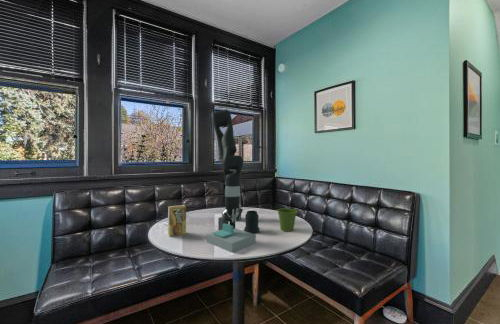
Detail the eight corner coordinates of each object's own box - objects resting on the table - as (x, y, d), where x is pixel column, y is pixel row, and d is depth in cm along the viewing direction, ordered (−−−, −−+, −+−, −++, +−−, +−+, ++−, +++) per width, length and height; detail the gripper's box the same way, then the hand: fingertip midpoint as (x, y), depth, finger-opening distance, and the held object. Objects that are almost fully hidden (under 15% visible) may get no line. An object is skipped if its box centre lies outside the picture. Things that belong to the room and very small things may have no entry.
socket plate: (230, 234, 123) (230, 226, 123) (255, 242, 111) (255, 234, 111) (206, 242, 112) (206, 234, 111) (231, 252, 99) (231, 243, 99)
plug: (223, 230, 130) (223, 213, 130) (228, 231, 127) (228, 214, 127) (218, 231, 127) (218, 214, 127) (223, 233, 125) (223, 215, 124)
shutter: (224, 231, 115) (224, 223, 115) (233, 234, 111) (233, 226, 110) (213, 234, 110) (213, 226, 110) (222, 237, 105) (222, 229, 105)
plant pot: (296, 234, 124) (296, 213, 124) (274, 231, 128) (275, 211, 128) (298, 227, 136) (298, 209, 135) (279, 225, 139) (279, 207, 139)
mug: (259, 234, 124) (259, 213, 124) (242, 233, 125) (242, 213, 125) (260, 227, 136) (260, 209, 135) (245, 227, 137) (245, 208, 137)
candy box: (184, 232, 127) (184, 204, 127) (186, 234, 123) (186, 206, 123) (167, 234, 122) (167, 206, 122) (169, 236, 119) (169, 207, 118)
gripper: (236, 192, 122) (236, 224, 122) (217, 195, 112) (217, 230, 112) (246, 194, 117) (246, 227, 117) (227, 197, 107) (227, 233, 107)
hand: (232, 229), depth 114 cm, fingers closed
